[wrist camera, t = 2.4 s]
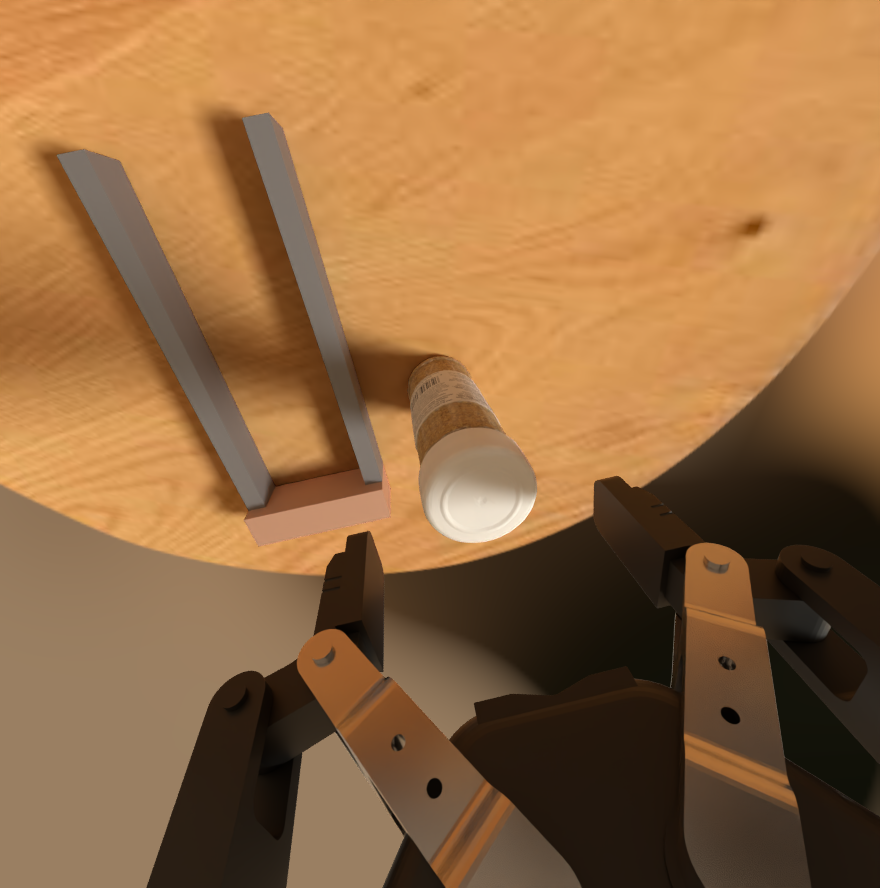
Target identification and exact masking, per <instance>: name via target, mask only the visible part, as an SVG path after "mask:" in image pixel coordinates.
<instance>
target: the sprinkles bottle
mask: <svg viewBox="0 0 880 888" xmlns="http://www.w3.org/2000/svg"><path fill="white" fill-rule="evenodd" d="M407 392H408V397H409V400H410V409H411V417H412V424H413V432H414V439H415V446H416V449H417V451H418V455H419V461H420V471H419V489H420V495H421V501H422V506H423V510H424V513H425V516H426V518H427V519H428V521H429V522H430V524H431V525H432V526H433V527H434V528H435V529H436V530H437V531H438V532H439V533H441V534H442V535H444V536H446V537H448V538H450V539H452V540H456V541H459V542H467V543H478V542H486V541H490V540H494V539H496V538H499V537H501V536H503V535H505V534H507V533H509V532H510V531H512V530H513V529H515V528H516V527H517V526H518V525H520V524H521V523H522V522H523V521H524V519H525V518H526V517H527V515H528V514H529V512H530V511H531V509H532V507H533V504H534V502H535V498H536V493H537V483H536V477H535V474H534V471H533V469H532V467H531V465H530V463H529V462H528V460H527V458H526V457H525V455H524V453H523V452H522V450H521V449H520V447H519V446H518V445H517V443H516V442H515V441H514V440H512V439H511V438H510V437H509V436H507V435H506V433H505V432H504V431H503V429H502V427H501V425H500V423H499V421H498V419H497V417H496V416H495V414H494V413H493V411H492V409H491V408H490V406H489V405H488V403H487V402H486V400H485V398H484V397H483V395H482V394H481V392H480V390H479V389H478V387H477V386H476V384H475V383H474V382H473V381H472V379H471V376H470V373H469V372H468V371H467V369H466V367H465V366H464V365H463V364H462V363H461V362H459V361H457V360H456V359H454V358H452V357H446V356H436V357H432V358H429V359H426V360H425V361H423V362H422V363H420V364H419V365H418V366H417V367H416V368H415V369H414V370H413V372H412V374H411V376H410V378H409V381H408V389H407Z"/></svg>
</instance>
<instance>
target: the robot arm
mask: <svg viewBox="0 0 880 888" xmlns="http://www.w3.org/2000/svg"><path fill="white" fill-rule="evenodd" d="M594 521H595V524H596V527H597V529H598V531H599V532H600V534H601V535H602V536H603V538H604V539H605V540H606V542H607V543H608V544H609V545H610V547H611V548H612V550H613V551H614V552H615V554H616V555H617V556H618V558H619V559H620V560H621V561H622V563H623V564H624V565H625V566H626V568H627V569H628V571H629V572H630V573H631V575H632V576H633V577H634V579H635V580H636V581H637V582H638V584H639V585H640V587H641V588H642V589H643V590H644V592H645V593H646V594H647V596H648V597H649V598H650V599H651V601H652V602H653V604H654V605H655V606H656V608H660V607H664V606H669V605H671V606H672V607H673V608H674V609H675V611H676V616H675V628H674V649H673V667H672V679H671V688H669V687H667V686H664V685H661V684H658V683H655V682H651V681H646V680H640V679H634V678H633V676H632V675H631V673H630V671H629V669H628V668H627V666H626V667H622V668H618V669H613V670H609V671H605V672H601V673H597V674H593V675H589V676H587V677H586V678H584V679H582V680H581V681H579V682H577V683H576V684H574V685H572V686H571V687H569V688H567V689H566V690H564V691H562V692H560V693H559V694H557V695H551V696H550V695H549V696H548V695H526V694H509V695H505V696H501V697H497V698H493V699H488V700H484V701H480V702H476V703H474V706H475V711H476V716H475V717H473V718H472V719H470V720H469V721H467V722H466V723H465V724H463V725H462V726H461V727H460V728H459V729H458V730H457V731H456V732H455V733H454V734H453V736H452V737H451V738H450V739H449V740H448V738H447V737H446V736H445V735H444V734H443V733H442V732H441V731H440V730H439V729H438V728H437V726H435V724H434V723H433V722H432V721H431V720H430V719H429V718H428V717H427V716H426V715H425V713H424V712H423V711H422V710H421V709H420V708H419V707H418V706H417V705H416V704H415V703H414V702H413V701H412V699H411V698H410V697H409V696H408V695H407V694H406V693H405V692H404V691H403V690H402V688H401V687H400V686H399V685H398V684H397V683H396V682H395V681H394V680H393V679H392V678H390V677H387V678H385V677H384V676H383V675H382V674H381V673H380V672H383V657H384V653H383V652H384V573H383V568H382V564H381V560H380V558H379V555H378V552H377V549H376V546H375V543H374V540H373V537H372V535H371V533H370V531H367V532H362V533H358V534H353V535H349V536H348V537H347V542H346V549H345V552H342V553H337V554H335V555H334V556H333V558H332V560H331V561H330V563H329V564H328V566H327V569H326V574H325V579H324V580H325V582H324V584H323V590H322V591H323V593H322V595H321V600H320V605H319V610H318V616H317V621H316V627H315V631H314V635H313V637H311V638H310V639H309V640H308V641H307V642H306V643H305V645H304V646H303V647H302V649H301V651H300V653H299V655H298V658H297V659H296V660H295V661H294V662H292V663H291V664H289V665H287V666H285V667H284V668H282V669H280V670H278V671H276V672H274V673H273V674H271V675H269V676H267V677H265V678H264V677H263V676H262V675H261V674H260V673H258V672H256V671H247V672H243V673H240V674H238V675H236V676H234V677H233V678H231V679H229V680H228V681H227V682H226V683H225V684H224V685H223V686H221V687H220V689H219V690H218V691H217V692H216V694H215V695H214V696H213V698H212V700H211V702H210V704H209V706H208V709H207V712H206V715H205V717H204V721H203V723H202V726H201V729H200V732H199V735H198V738H197V741H196V744H195V747H194V750H193V753H192V756H191V759H190V762H189V764H188V768H187V770H186V773H185V776H184V779H183V782H182V785H181V788H180V791H179V794H178V797H177V800H176V803H175V805H174V809H173V811H172V814H171V817H170V820H169V823H168V826H167V829H166V832H165V835H164V838H163V841H162V844H161V846H160V850H159V852H158V855H157V858H156V861H155V864H154V867H153V870H152V873H151V876H150V879H149V882H148V885H147V888H286V885H287V876H288V868H289V860H290V850H291V843H292V834H293V826H294V817H295V810H296V801H297V793H298V784H299V776H300V768H301V767H300V766H301V759H302V752H304V751H305V750H307V749H308V748H310V747H311V746H313V745H314V744H316V743H318V742H319V741H321V740H322V739H324V738H326V737H327V736H329V735H331V734H332V733H334V732H335V733H336V734H337V736H338V737H339V739H340V740H341V742H342V743H343V745H344V747H345V748H346V750H347V751H348V752H349V754H350V756H351V757H352V758H353V760H354V761H355V763H356V764H357V766H358V768H359V769H360V771H361V772H362V773H363V775H364V777H365V778H366V780H367V781H368V783H369V784H370V786H371V787H372V789H373V790H374V792H375V794H376V795H377V797H378V799H379V800H380V802H381V803H382V805H383V806H384V808H385V809H386V811H387V812H388V814H389V816H390V817H391V819H392V820H393V822H394V823H395V825H396V826H397V828H398V829H399V831H400V832H401V834H402V835H403V837H404V839H403V841H402V844H401V846H400V848H399V851H398V853H397V855H396V858H395V860H394V862H393V864H392V867H391V869H390V871H389V874H388V876H387V878H386V881H385V883H384V885H383V888H880V817H879V816H878V815H876V814H874V813H873V812H871V811H869V810H868V809H866V808H865V807H863V806H862V805H860V804H858V803H857V802H855V801H854V800H852V799H850V798H849V797H847V796H846V795H844V794H842V793H841V792H839V791H838V790H836V789H834V788H832V787H831V786H830V785H828V784H826V783H825V782H823V781H821V780H820V779H818V778H817V777H815V776H813V775H812V774H810V773H809V772H807V771H805V770H804V769H802V768H801V767H799V766H797V765H795V764H794V763H793V762H791V761H789V760H788V759H786V758H785V757H784V752H783V746H782V739H781V733H780V727H779V719H778V713H777V706H776V700H775V693H774V687H773V680H772V674H771V667H770V661H769V655H768V647H767V641H766V639H767V640H768V641H769V642H770V643H771V645H772V646H773V647H774V648H775V649H776V650H777V651H778V652H779V653H780V655H781V656H782V657H783V658H784V659H785V660H786V661H787V662H788V663H789V665H790V666H791V667H792V668H793V669H794V670H795V671H796V672H797V673H798V675H799V676H800V677H801V678H802V679H803V680H804V681H805V682H806V683H807V685H809V687H810V688H811V689H812V690H813V691H814V692H815V693H816V694H817V696H818V697H819V698H820V699H821V700H822V701H823V702H824V703H825V704H826V706H828V708H829V709H830V710H831V711H832V712H833V713H834V714H835V716H836V717H837V718H838V719H839V720H840V721H841V722H842V723H843V724H844V725H845V727H846V728H847V729H848V730H849V731H850V732H851V733H852V734H853V735H854V736H855V738H856V739H857V740H858V741H859V742H860V743H861V744H862V745H863V747H864V748H865V749H866V750H867V751H868V752H869V753H870V754H871V755H872V756H873V758H874V759H875V760H876V761H877V762H878V763H879V764H880V587H879V586H878V585H877V584H875V583H874V582H873V581H871V580H870V579H869V578H867V577H866V576H864V575H863V574H862V573H860V572H859V571H858V570H856V569H855V568H853V567H852V566H851V565H849V564H848V563H847V562H845V561H844V560H842V559H841V558H839V557H838V556H836V555H834V554H832V553H830V552H828V551H825V550H823V549H819V548H816V547H812V546H806V545H792V546H788V547H785V548H784V549H782V551H781V552H780V555H779V558H778V560H767V559H744V558H742V557H741V556H740V555H739V554H738V553H736V552H735V551H733V550H731V549H729V548H727V547H724V546H722V545H717V544H712V543H706V542H704V541H703V540H702V539H701V538H700V537H699V536H698V535H697V534H696V533H695V532H694V531H692V530H691V529H690V528H689V527H688V526H687V525H686V524H685V523H684V522H683V521H682V520H680V519H679V518H678V517H677V516H676V515H675V514H672V511H671V510H669V509H668V508H667V507H666V506H664V505H663V503H662V502H661V501H659V500H658V499H657V498H656V497H655V496H654V495H653V494H651V493H650V492H647V491H645V490H643V489H641V488H639V487H633V488H631V487H630V486H629V485H628V484H627V483H626V482H625V481H624V480H623V479H622V478H621V477H619V476H614V477H610V478H605V479H601V480H597V481H595V483H594ZM830 627H832V628H833V629H835V630H836V631H837V632H838V633H839V634H840V635H841V636H842V637H844V639H846V640H847V641H848V642H849V643H850V644H851V645H852V646H853V647H854V648H855V649H857V650H858V652H859V653H860V654H861V655H862V657H863V658H864V659H863V658H862V657H861V656H860V655H858V654H857V653H856V652H855V651H854V650H853V649H852V648H851V647H850V646H849V645H847V644H846V643H845V642H844V641H843V640H842V639H841V638H840V637H839V636H838V635H837V634H836V633H834V632H833V631H832V630H831V629H830Z"/></svg>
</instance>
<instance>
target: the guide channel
mask: <svg viewBox="0 0 880 888" xmlns="http://www.w3.org/2000/svg"><path fill="white" fill-rule="evenodd" d="M242 120H243V123H244V126H245V129H246V132H247V135H248V138H249V141H250V144H251V147H252V150H253V153H254V156H255V159H256V162H257V165H258V168H259V170H260V173H261V176H262V179H263V182H264V185H265V188H266V191H267V194H268V197H269V200H270V203H271V206H272V209H273V212H274V215H275V218H276V221H277V224H278V227H279V230H280V233H281V236H282V239H283V242H284V245H285V248H286V251H287V254H288V257H289V260H290V263H291V266H292V268H293V271H294V274H295V277H296V280H297V283H298V286H299V289H300V292H301V295H302V298H303V301H304V304H305V307H306V310H307V313H308V316H309V319H310V322H311V325H312V328H313V331H314V334H315V337H316V340H317V343H318V346H319V349H320V352H321V355H322V358H323V361H324V364H325V366H326V369H327V372H328V375H329V378H330V381H331V384H332V387H333V390H334V393H335V396H336V399H337V402H338V405H339V408H340V411H341V414H342V417H343V420H344V423H345V426H346V429H347V432H348V435H349V438H350V441H351V444H352V447H353V450H354V453H355V456H356V459H357V462H358V465H359V467H360V468H359V469H354V470H350V471H345V472H341V473H336V474H331V475H327V476H322V477H318V478H313V479H309V480H304V481H299V482H295V483H290V484H286V485H281V486H277V487H275V485H274V483H273V481H272V478H271V476H270V474H269V472H268V470H267V468H266V466H265V464H264V462H263V460H262V458H261V455H260V453H259V451H258V449H257V447H256V445H255V443H254V441H253V439H252V437H251V434H250V432H249V430H248V428H247V426H246V424H245V422H244V420H243V418H242V416H241V414H240V411H239V409H238V407H237V405H236V403H235V401H234V399H233V397H232V395H231V393H230V391H229V388H228V386H227V384H226V382H225V380H224V378H223V376H222V374H221V372H220V370H219V368H218V365H217V363H216V361H215V359H214V357H213V355H212V353H211V351H210V349H209V347H208V345H207V342H206V340H205V338H204V336H203V334H202V332H201V330H200V328H199V326H198V324H197V322H196V319H195V317H194V315H193V313H192V311H191V309H190V307H189V305H188V303H187V301H186V299H185V296H184V294H183V292H182V290H181V288H180V286H179V284H178V282H177V280H176V278H175V276H174V273H173V271H172V269H171V267H170V265H169V263H168V261H167V259H166V257H165V255H164V253H163V250H162V248H161V246H160V244H159V242H158V240H157V238H156V236H155V234H154V232H153V230H152V227H151V225H150V223H149V221H148V219H147V217H146V215H145V213H144V211H143V209H142V206H141V204H140V202H139V200H138V198H137V196H136V194H135V192H134V190H133V188H132V186H131V183H130V181H129V179H128V177H127V175H126V173H125V171H124V169H123V167H122V165H121V163H120V161H119V160H116V159H112V158H109V157H106V156H103V155H100V154H97V153H93V152H90V151H87V150H84V149H83V150H78V151H73V152H68V153H63V154H58V155H57V157H58V159H59V161H60V162H61V164H62V166H63V168H64V170H65V172H66V174H67V175H68V177H69V179H70V181H71V183H72V185H73V187H74V188H75V190H76V192H77V194H78V196H79V198H80V200H81V201H82V203H83V205H84V207H85V209H86V211H87V212H88V214H89V216H90V218H91V220H92V222H93V224H94V225H95V227H96V229H97V231H98V233H99V235H100V237H101V238H102V240H103V242H104V244H105V246H106V248H107V249H108V251H109V253H110V255H111V257H112V259H113V261H114V262H115V264H116V266H117V268H118V270H119V272H120V274H121V275H122V277H123V279H124V281H125V283H126V285H127V287H128V288H129V290H130V292H131V294H132V296H133V298H134V299H135V301H136V303H137V305H138V307H139V309H140V311H141V312H142V314H143V316H144V318H145V320H146V322H147V324H148V325H149V327H150V329H151V331H152V333H153V335H154V336H155V338H156V340H157V342H158V344H159V346H160V348H161V349H162V351H163V353H164V355H165V357H166V359H167V361H168V362H169V364H170V366H171V368H172V370H173V372H174V374H175V375H176V377H177V379H178V381H179V383H180V385H181V386H182V388H183V390H184V392H185V394H186V396H187V398H188V399H189V401H190V403H191V405H192V407H193V409H194V411H195V412H196V414H197V416H198V418H199V420H200V422H201V423H202V425H203V427H204V429H205V431H206V433H207V435H208V436H209V438H210V440H211V442H212V444H213V446H214V448H215V449H216V451H217V453H218V455H219V457H220V459H221V461H222V462H223V464H224V466H225V468H226V470H227V472H228V473H229V475H230V477H231V479H232V481H233V483H234V485H235V486H236V488H237V490H238V492H239V494H240V496H241V498H242V499H243V501H244V503H245V505H246V507H247V509H248V510H249V511H248V513H247V515H246V517H245V519H244V521H245V523H246V525H247V527H248V529H249V530H250V532H251V534H252V536H253V538H254V539H255V541H256V543H257V545H258V547H259V546H263V545H268V544H272V543H277V542H281V541H286V540H290V539H295V538H299V537H304V536H308V535H313V534H317V533H322V532H326V531H331V530H335V529H340V528H344V527H349V526H353V525H358V524H362V523H367V522H371V521H376V520H380V519H385V518H389V517H391V488H390V485H389V482H388V478H387V475H386V472H385V468H384V465H383V462H382V458H381V455H380V452H379V448H378V445H377V442H376V438H375V435H374V432H373V428H372V425H371V422H370V418H369V415H368V412H367V408H366V405H365V402H364V398H363V395H362V392H361V388H360V385H359V382H358V378H357V375H356V372H355V368H354V365H353V361H352V358H351V355H350V351H349V348H348V345H347V341H346V338H345V335H344V331H343V328H342V325H341V321H340V318H339V315H338V311H337V308H336V305H335V301H334V298H333V295H332V291H331V288H330V285H329V281H328V278H327V275H326V271H325V268H324V265H323V261H322V258H321V255H320V251H319V248H318V245H317V241H316V238H315V235H314V231H313V228H312V224H311V221H310V218H309V214H308V211H307V208H306V204H305V201H304V198H303V194H302V191H301V188H300V184H299V181H298V178H297V174H296V171H295V168H294V164H293V161H292V158H291V154H290V151H289V148H288V144H287V141H286V138H285V134H284V131H283V128H282V127H281V126H280V125H279V124H278V122H277V121H276V120H275V119H274V118H273V117H272V116H271V115H270V114H269V113H264V114H259V115H254V116H249V117H244V118H242Z"/></svg>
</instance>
